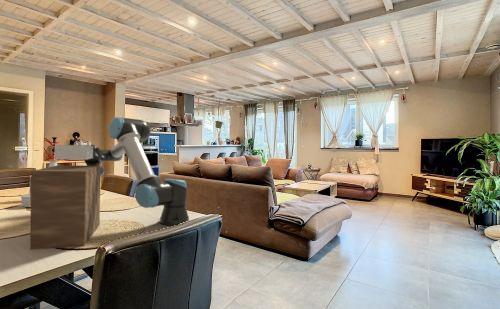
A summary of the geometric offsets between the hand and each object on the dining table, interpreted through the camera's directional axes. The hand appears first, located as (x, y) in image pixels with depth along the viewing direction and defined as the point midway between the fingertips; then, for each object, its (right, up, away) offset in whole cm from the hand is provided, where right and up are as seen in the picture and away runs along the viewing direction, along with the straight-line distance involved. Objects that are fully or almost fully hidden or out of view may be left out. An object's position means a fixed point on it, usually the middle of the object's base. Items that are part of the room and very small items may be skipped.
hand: (84, 142), depth 137 cm
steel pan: (+1, -8, -5) cm, 9 cm away
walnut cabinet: (+5, -42, -19) cm, 46 cm away
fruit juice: (-55, -38, +53) cm, 85 cm away
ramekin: (-51, -39, +32) cm, 72 cm away
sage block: (+5, -6, -14) cm, 16 cm away
